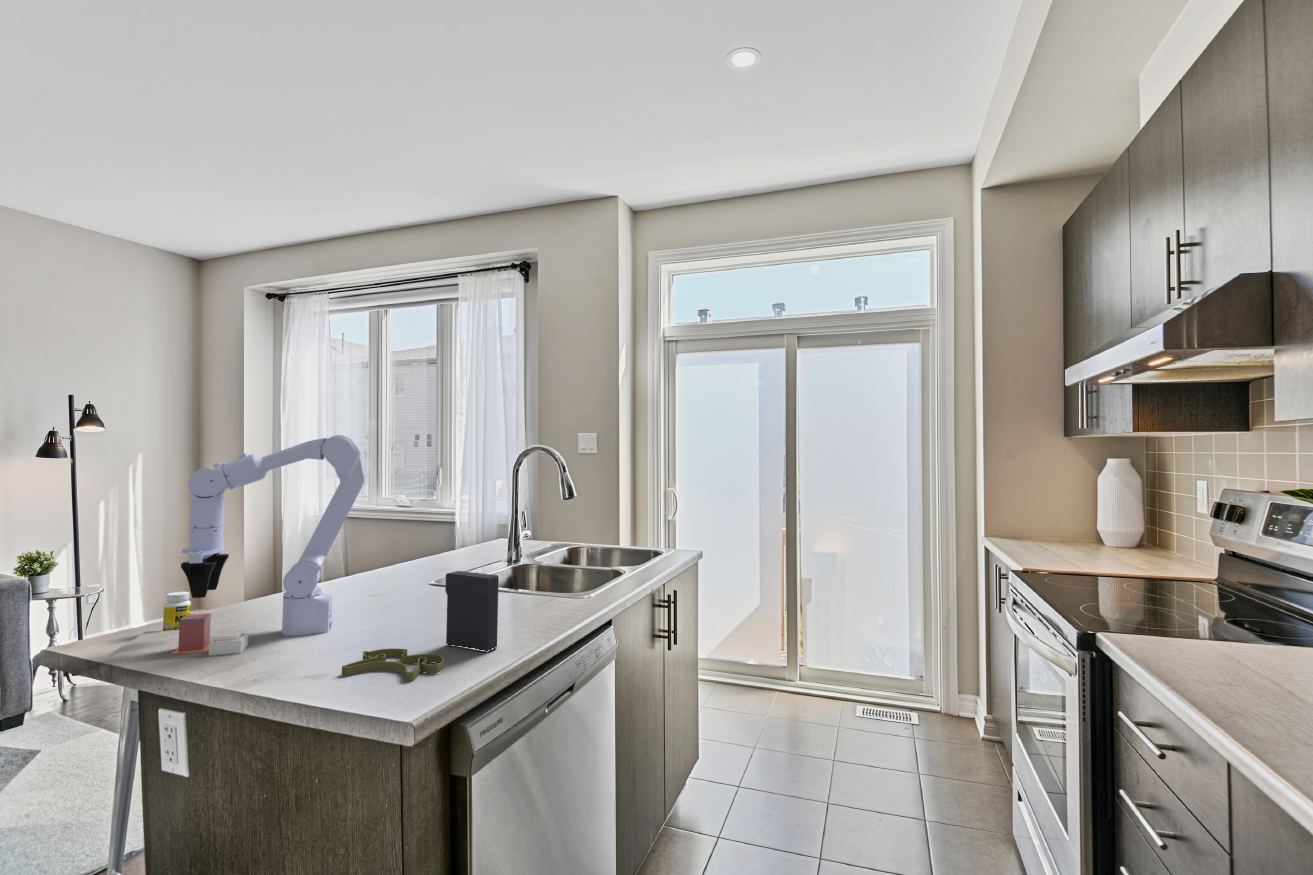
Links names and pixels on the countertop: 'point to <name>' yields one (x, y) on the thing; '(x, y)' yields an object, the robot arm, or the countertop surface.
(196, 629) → the block
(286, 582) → the robot arm
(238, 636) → the button
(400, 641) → the countertop surface
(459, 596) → the charcoal upright slab
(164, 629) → the supplement bottle
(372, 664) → the cookie cutter
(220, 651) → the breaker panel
